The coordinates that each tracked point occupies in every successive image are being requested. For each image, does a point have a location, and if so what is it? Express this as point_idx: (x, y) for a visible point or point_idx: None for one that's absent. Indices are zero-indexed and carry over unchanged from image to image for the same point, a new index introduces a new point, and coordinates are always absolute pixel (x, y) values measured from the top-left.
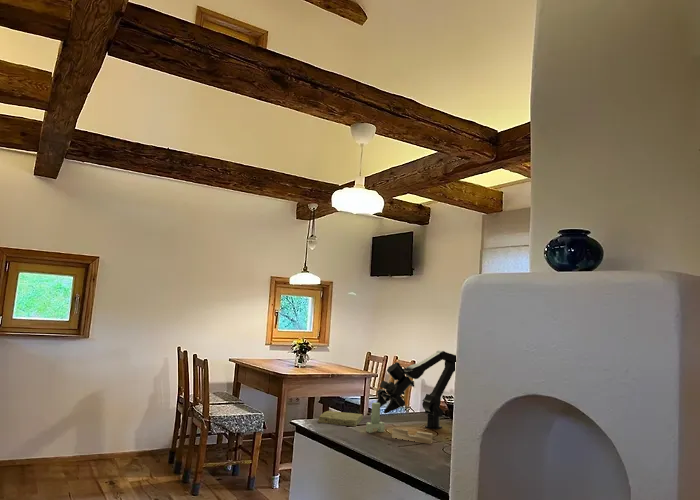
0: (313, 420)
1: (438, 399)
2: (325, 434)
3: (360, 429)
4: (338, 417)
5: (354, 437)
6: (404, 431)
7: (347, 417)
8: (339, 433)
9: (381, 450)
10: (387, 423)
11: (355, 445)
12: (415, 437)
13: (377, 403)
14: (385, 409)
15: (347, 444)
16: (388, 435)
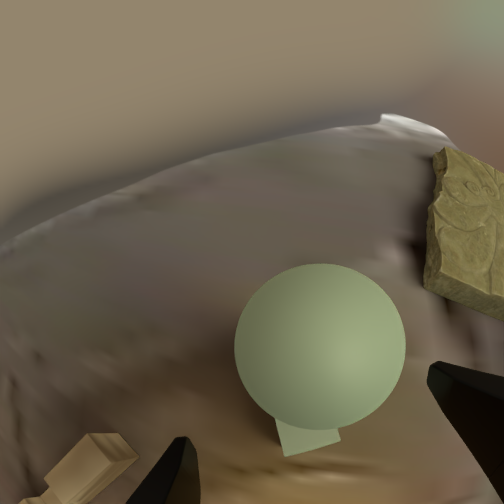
0: None
1: None
2: (239, 149)
3: None
4: (467, 202)
5: (166, 238)
6: (51, 472)
7: (476, 237)
8: (252, 190)
9: (4, 293)
10: None
11: (68, 225)
12: (42, 495)
13: (307, 368)
14: (165, 463)
15: (88, 203)
16: None
